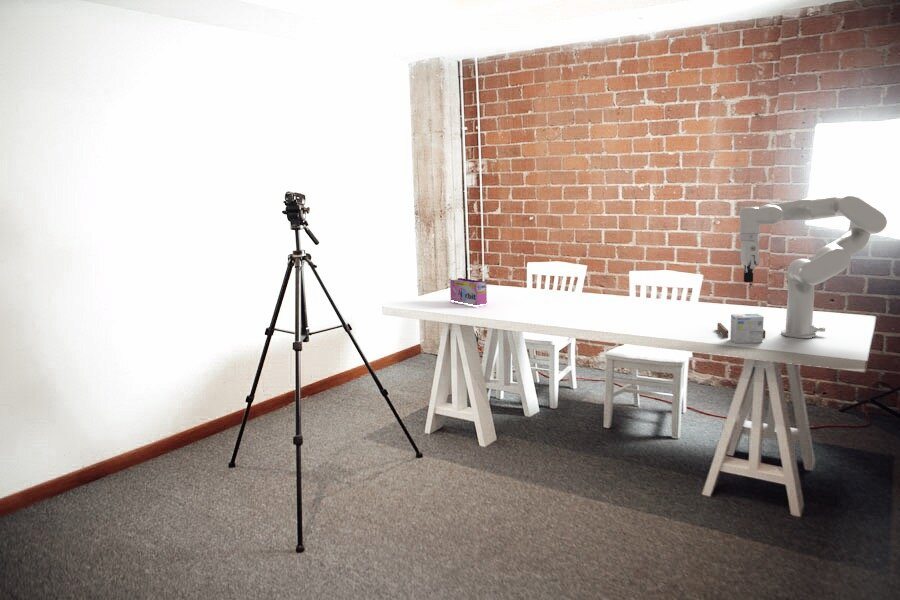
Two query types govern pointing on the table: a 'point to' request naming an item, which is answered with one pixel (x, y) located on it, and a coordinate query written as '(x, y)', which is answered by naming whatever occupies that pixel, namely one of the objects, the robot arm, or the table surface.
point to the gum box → (468, 291)
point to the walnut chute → (725, 331)
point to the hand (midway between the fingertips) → (748, 281)
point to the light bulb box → (746, 328)
